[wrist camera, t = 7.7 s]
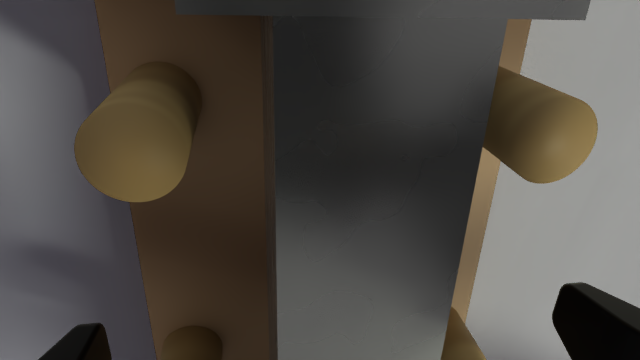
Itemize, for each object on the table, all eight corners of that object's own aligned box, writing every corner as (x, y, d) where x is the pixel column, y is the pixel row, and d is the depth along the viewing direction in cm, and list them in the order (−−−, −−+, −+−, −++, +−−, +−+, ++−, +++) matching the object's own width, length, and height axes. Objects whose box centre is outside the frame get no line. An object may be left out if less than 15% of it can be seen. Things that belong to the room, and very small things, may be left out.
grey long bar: (180, -289, 7) (118, -544, 3) (494, -254, 8) (706, -432, 4) (239, 474, 15) (239, 631, 12) (388, 453, 16) (431, 595, 12)
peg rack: (96, -91, 9) (-7, -126, 5) (519, -71, 10) (678, -88, 7) (175, 401, 15) (153, 548, 11) (434, 372, 16) (491, 495, 13)
